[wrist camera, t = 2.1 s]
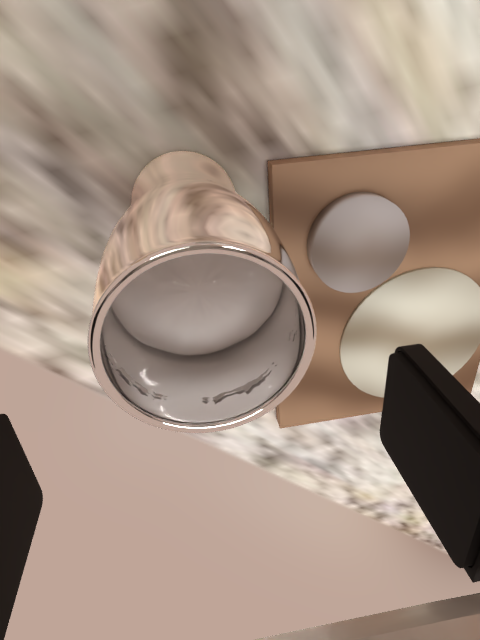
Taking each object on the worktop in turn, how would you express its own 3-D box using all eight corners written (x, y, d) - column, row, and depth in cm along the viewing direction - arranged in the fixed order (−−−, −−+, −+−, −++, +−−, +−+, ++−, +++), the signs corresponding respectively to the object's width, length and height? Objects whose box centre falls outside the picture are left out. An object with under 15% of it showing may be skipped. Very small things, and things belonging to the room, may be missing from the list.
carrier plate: (267, 160, 24) (277, 169, 22) (526, 133, 26) (557, 139, 24) (276, 417, 35) (283, 439, 33) (461, 387, 36) (478, 406, 34)
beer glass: (109, 151, 23) (40, 258, 10) (236, 132, 23) (323, 214, 11) (139, 269, 27) (116, 457, 14) (249, 251, 27) (325, 416, 14)
